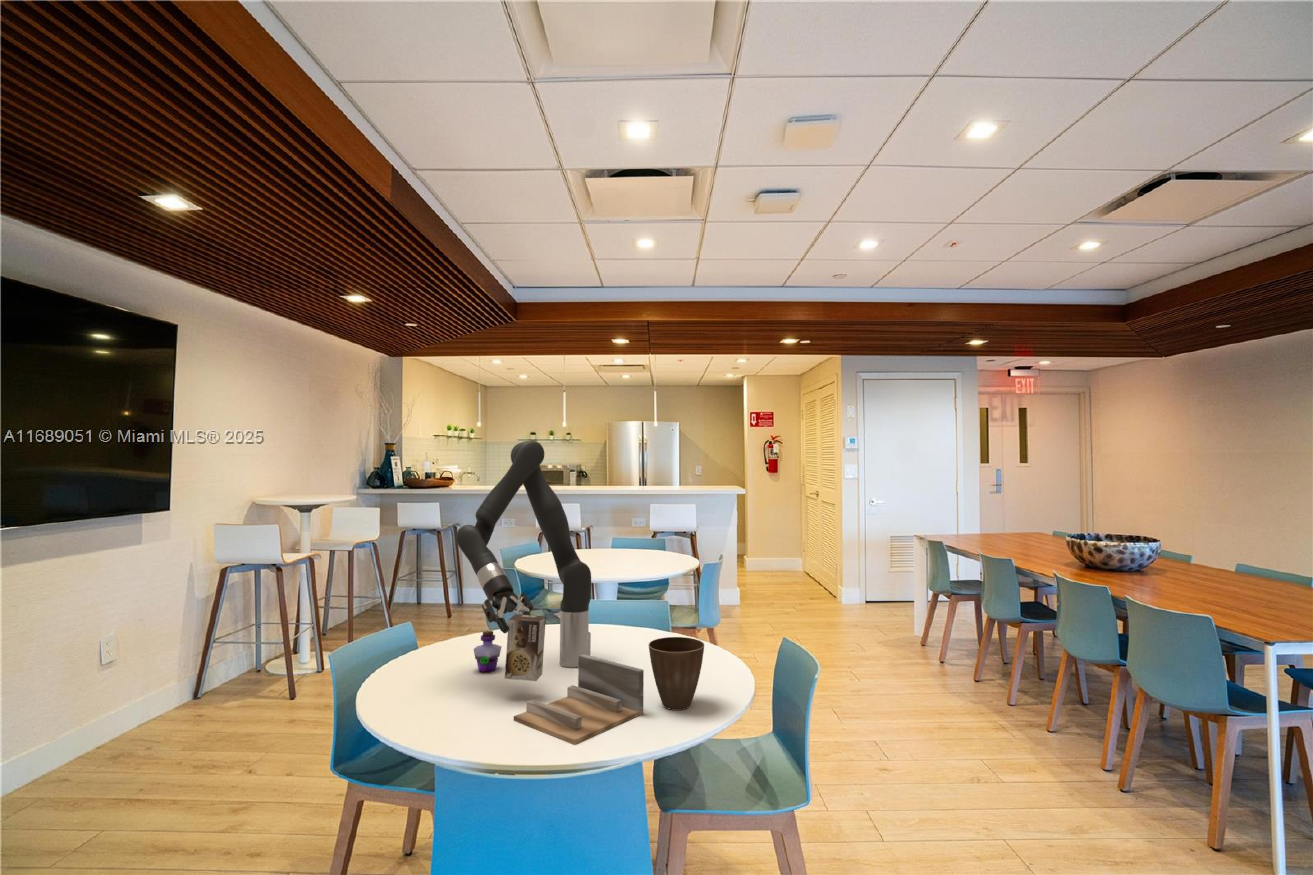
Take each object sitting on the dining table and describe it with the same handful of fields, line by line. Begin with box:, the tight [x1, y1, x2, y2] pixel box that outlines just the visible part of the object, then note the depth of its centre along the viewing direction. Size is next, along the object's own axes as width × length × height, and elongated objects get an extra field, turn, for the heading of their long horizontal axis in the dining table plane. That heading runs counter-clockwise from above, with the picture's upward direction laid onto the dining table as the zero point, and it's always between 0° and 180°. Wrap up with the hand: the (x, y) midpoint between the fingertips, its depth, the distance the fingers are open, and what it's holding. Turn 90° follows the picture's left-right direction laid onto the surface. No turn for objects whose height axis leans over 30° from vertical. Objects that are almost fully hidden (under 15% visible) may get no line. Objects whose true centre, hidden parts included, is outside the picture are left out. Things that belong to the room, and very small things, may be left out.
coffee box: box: [504, 613, 547, 682], centre depth 169 cm, size 9×6×16 cm
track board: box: [513, 654, 644, 745], centre depth 155 cm, size 24×22×11 cm
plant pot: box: [648, 636, 705, 710], centre depth 164 cm, size 15×15×16 cm
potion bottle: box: [473, 630, 502, 674], centre depth 193 cm, size 9×9×12 cm
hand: (519, 628), depth 170 cm, fingers closed on coffee box, 8 cm apart
